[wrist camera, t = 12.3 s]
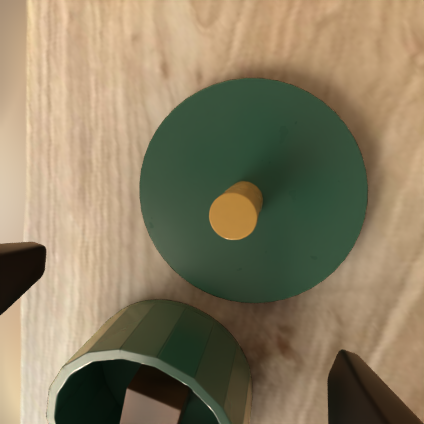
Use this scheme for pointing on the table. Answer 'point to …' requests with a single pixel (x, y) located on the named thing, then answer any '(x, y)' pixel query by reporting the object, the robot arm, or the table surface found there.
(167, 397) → the block
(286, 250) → the lid
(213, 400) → the tin
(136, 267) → the table surface
